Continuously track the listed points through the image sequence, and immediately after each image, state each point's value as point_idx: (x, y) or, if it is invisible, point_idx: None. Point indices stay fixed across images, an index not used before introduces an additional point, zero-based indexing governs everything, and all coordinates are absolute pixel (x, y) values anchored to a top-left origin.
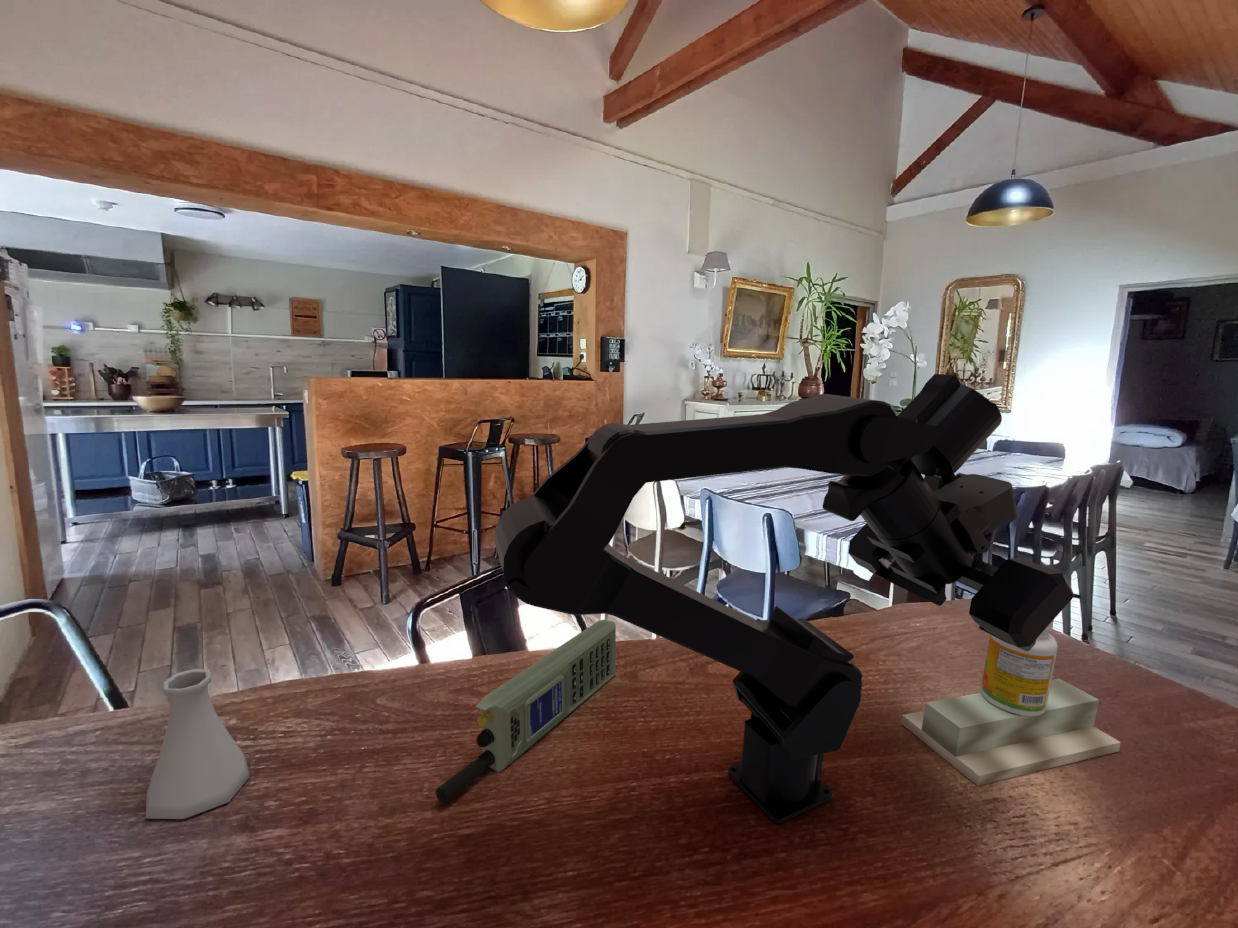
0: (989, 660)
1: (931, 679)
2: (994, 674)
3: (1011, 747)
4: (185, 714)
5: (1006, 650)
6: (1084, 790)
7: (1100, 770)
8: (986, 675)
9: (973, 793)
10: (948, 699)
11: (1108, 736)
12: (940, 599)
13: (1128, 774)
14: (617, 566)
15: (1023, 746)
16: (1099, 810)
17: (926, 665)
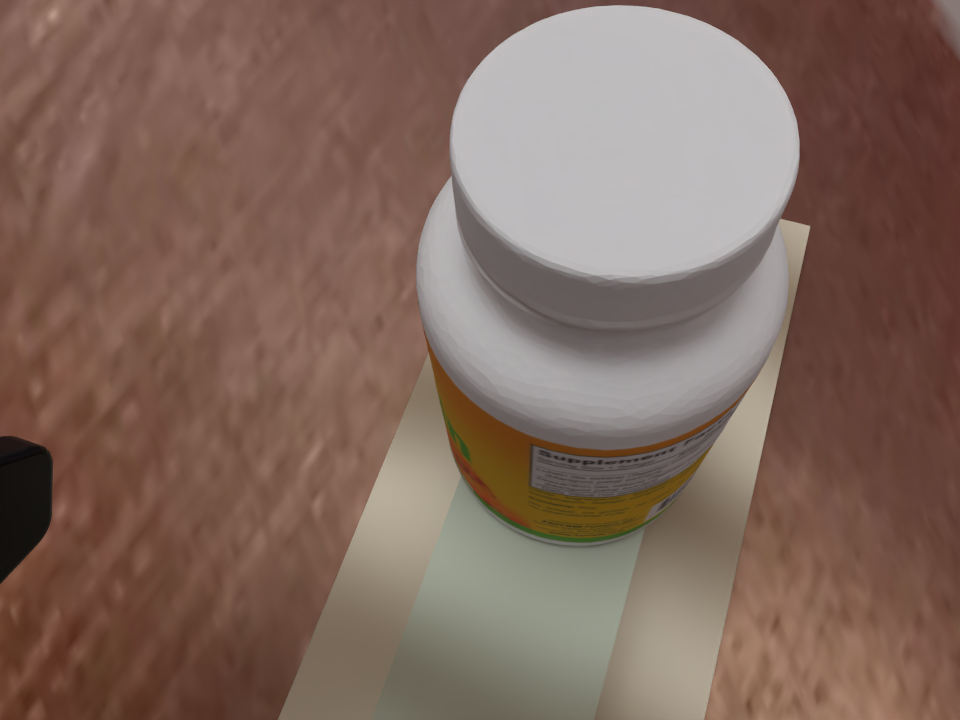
0: (477, 452)
1: (230, 335)
2: (524, 496)
3: (632, 590)
4: None
5: (578, 456)
6: (853, 567)
7: (821, 400)
8: (479, 478)
9: None
10: (392, 683)
11: None
12: (4, 522)
13: (872, 346)
14: None
15: (654, 541)
16: (932, 643)
17: (180, 256)
